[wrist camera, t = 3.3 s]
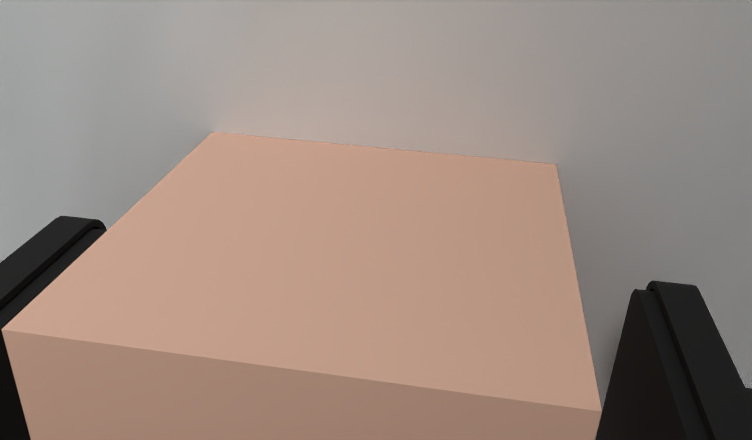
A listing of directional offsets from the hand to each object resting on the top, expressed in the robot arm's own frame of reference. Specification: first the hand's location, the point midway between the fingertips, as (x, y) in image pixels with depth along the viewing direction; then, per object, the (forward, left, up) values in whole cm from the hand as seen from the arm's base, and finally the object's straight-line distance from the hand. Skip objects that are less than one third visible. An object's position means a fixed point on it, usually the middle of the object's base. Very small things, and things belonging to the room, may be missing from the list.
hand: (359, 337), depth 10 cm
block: (0, 0, -1) cm, 1 cm away
